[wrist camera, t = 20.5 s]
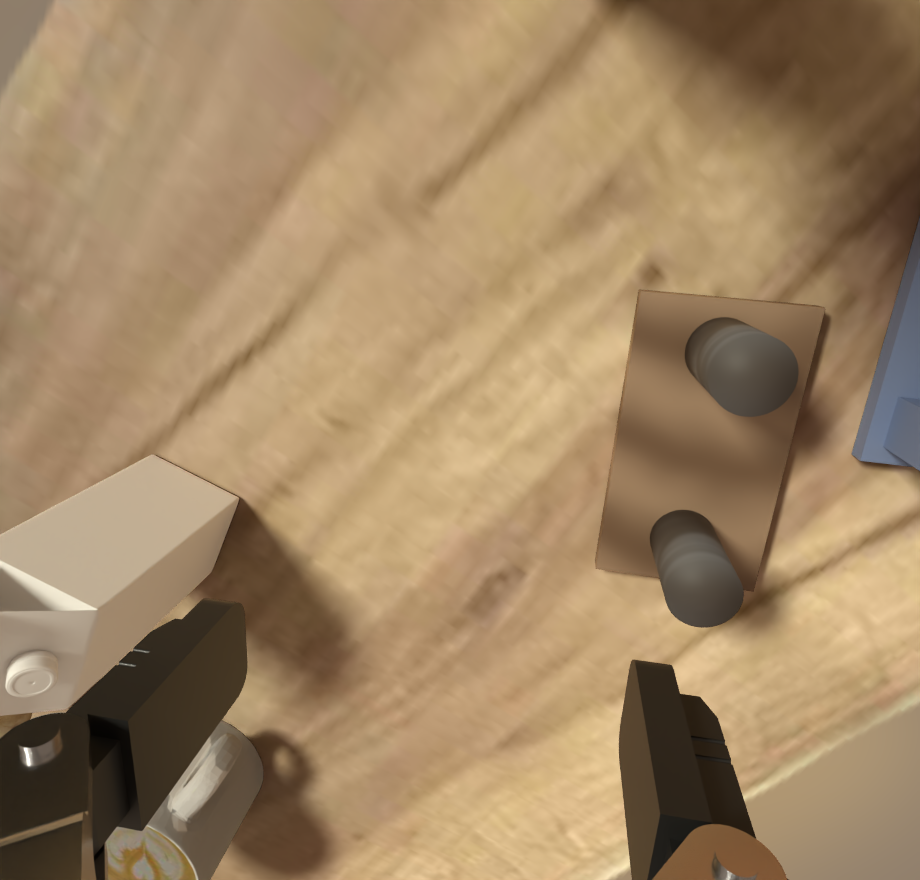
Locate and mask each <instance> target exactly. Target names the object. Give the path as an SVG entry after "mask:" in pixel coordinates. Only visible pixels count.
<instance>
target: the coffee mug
mask: <svg viewBox="0 0 920 880" xmlns="http://www.w3.org/2000/svg"><path fill="white" fill-rule="evenodd" d="M262 782H263V766H262V762H261V759H260V757H259V754H258V752H257V751H256V749H255V747H254V746H253V744H252V743H251V742H250V741H249V740H248V739H247V737H246V736H244V735H243V734H242V733H241V732H240V731H239V730H237V729H236V728H234V727H233V726H231V725H230V724H228V723H226V722H224V721H222V720H221V722H220V723H219V724H218V726H217V727H216V729H215V730H214V731H213V733H212V734H211V736H210V737H209V738H208V740H207V741H206V743H205V744H204V745H203V747H202V748H201V750H200V751H199V752H198V754H197V755H196V757H195V758H194V759H193V761H192V762H191V764H190V765H189V766H188V768H187V769H186V771H185V772H184V773H183V775H182V776H181V778H180V779H179V780H178V782H177V783H176V785H175V786H174V787H173V789H172V790H171V792H170V793H169V794H168V796H167V797H166V799H165V800H164V801H163V803H162V804H161V806H160V807H159V809H158V810H157V811H156V813H155V814H154V816H153V817H152V818H151V820H150V821H149V823H148V824H147V825H146V827H145V828H144V830H143V831H137V830H132V829H127V828H122V827H116V829H115V830H114V831H113V833H112V834H111V835H110V837H109V838H108V839H107V841H106V845H107V852H108V880H210V879H211V877H212V876H213V874H214V872H215V870H216V868H217V866H218V865H219V863H220V861H221V859H222V857H223V856H224V854H225V852H226V850H227V848H228V846H229V845H230V843H231V841H232V839H233V837H234V836H235V834H236V832H237V830H238V828H239V826H240V825H241V823H242V821H243V819H244V817H245V816H246V814H247V812H248V810H249V808H250V807H251V805H252V803H253V801H254V799H255V797H256V796H257V794H258V792H259V790H260V788H261V785H262Z"/></svg>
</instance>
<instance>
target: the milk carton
mask: <svg viewBox="0 0 920 880" xmlns="http://www.w3.org/2000/svg"><path fill="white" fill-rule="evenodd" d="M238 502H239V498H238V497H237V496H235V495H233V494H231V493H229V492H227V491H225V490H223V489H221V488H219V487H217V486H215V485H213V484H211V483H209V482H207V481H205V480H203V479H201V478H199V477H197V476H195V475H193V474H191V473H189V472H187V471H185V470H183V469H181V468H179V467H177V466H175V465H173V464H171V463H169V462H167V461H165V460H163V459H161V458H159V457H157V456H155V455H153V454H152V455H150V456H148V457H146V458H144V459H142V460H140V461H138V462H137V463H135V464H133V465H131V466H129V467H127V468H125V469H123V470H121V471H120V472H118V473H116V474H114V475H112V476H110V477H108V478H106V479H104V480H103V481H101V482H99V483H97V484H95V485H93V486H91V487H89V488H87V489H86V490H84V491H82V492H80V493H78V494H76V495H74V496H72V497H70V498H69V499H67V500H65V501H63V502H61V503H59V504H57V505H55V506H53V507H52V508H50V509H48V510H46V511H44V512H42V513H40V514H38V515H36V516H35V517H33V518H31V519H29V520H27V521H25V522H23V523H21V524H20V525H18V526H16V527H14V528H12V529H10V530H8V531H6V532H4V533H3V534H1V535H0V716H4V715H14V714H24V713H35V712H45V711H55V710H64V709H67V708H69V707H70V706H71V705H72V704H73V703H75V702H76V701H77V700H78V699H79V698H80V697H81V696H82V695H83V694H84V693H85V692H86V691H87V690H89V689H90V688H91V687H92V686H93V685H94V684H95V683H96V682H97V681H98V680H99V679H100V678H101V677H102V676H103V675H104V674H105V673H106V672H107V671H108V670H110V669H111V668H112V667H113V666H114V665H115V664H116V663H117V662H118V661H119V660H120V659H121V658H122V657H123V656H124V655H125V654H126V653H127V652H128V651H129V650H131V649H132V648H133V647H134V646H135V645H136V644H137V643H138V642H139V641H140V640H141V639H142V638H143V637H144V636H145V635H146V634H147V633H148V632H149V631H150V630H151V629H153V628H154V627H155V626H156V625H157V624H158V623H159V622H160V621H161V620H162V619H163V618H164V617H165V616H166V615H167V614H168V613H169V612H170V611H171V610H172V609H174V608H175V607H176V606H177V605H178V604H179V603H180V602H181V601H182V600H183V599H184V598H185V597H186V596H187V595H188V594H189V593H190V592H191V591H192V590H193V589H195V588H196V587H197V586H198V585H199V584H200V583H201V582H202V581H203V580H204V579H205V578H206V577H207V576H208V575H209V574H210V573H211V572H212V570H213V568H214V565H215V563H216V560H217V557H218V555H219V552H220V549H221V547H222V544H223V542H224V539H225V536H226V534H227V531H228V528H229V526H230V523H231V520H232V518H233V515H234V513H235V510H236V507H237V505H238Z"/></svg>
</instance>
